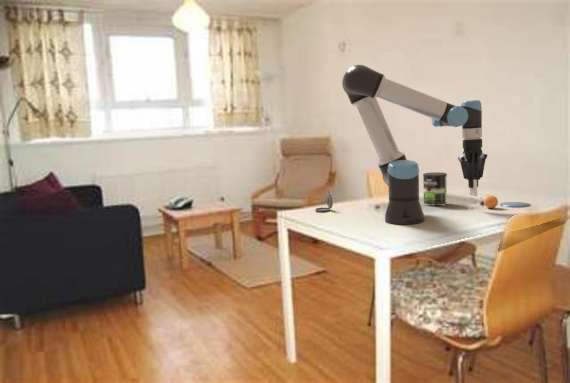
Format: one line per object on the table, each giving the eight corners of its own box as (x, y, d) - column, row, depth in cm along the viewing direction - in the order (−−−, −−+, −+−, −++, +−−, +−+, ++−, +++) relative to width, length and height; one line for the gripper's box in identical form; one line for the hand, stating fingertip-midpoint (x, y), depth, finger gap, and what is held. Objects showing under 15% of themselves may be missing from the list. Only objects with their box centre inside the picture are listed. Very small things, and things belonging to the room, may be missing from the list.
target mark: (522, 208, 203) (522, 207, 203) (494, 205, 212) (494, 205, 212) (535, 204, 211) (535, 203, 211) (508, 201, 220) (508, 201, 220)
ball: (493, 209, 204) (493, 196, 203) (481, 208, 208) (481, 195, 207) (500, 207, 207) (500, 195, 206) (488, 206, 211) (488, 194, 211)
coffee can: (439, 207, 217) (438, 175, 215) (419, 205, 224) (418, 174, 222) (451, 203, 223) (451, 172, 221) (431, 201, 231) (431, 171, 229)
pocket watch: (312, 211, 224) (311, 190, 223) (324, 208, 230) (323, 187, 229) (326, 213, 219) (325, 191, 217) (337, 209, 224) (336, 188, 223)
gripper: (465, 140, 195) (466, 198, 198) (491, 137, 199) (492, 194, 202) (453, 139, 202) (454, 196, 205) (479, 137, 206) (480, 192, 209)
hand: (473, 195), depth 204 cm, fingers closed
